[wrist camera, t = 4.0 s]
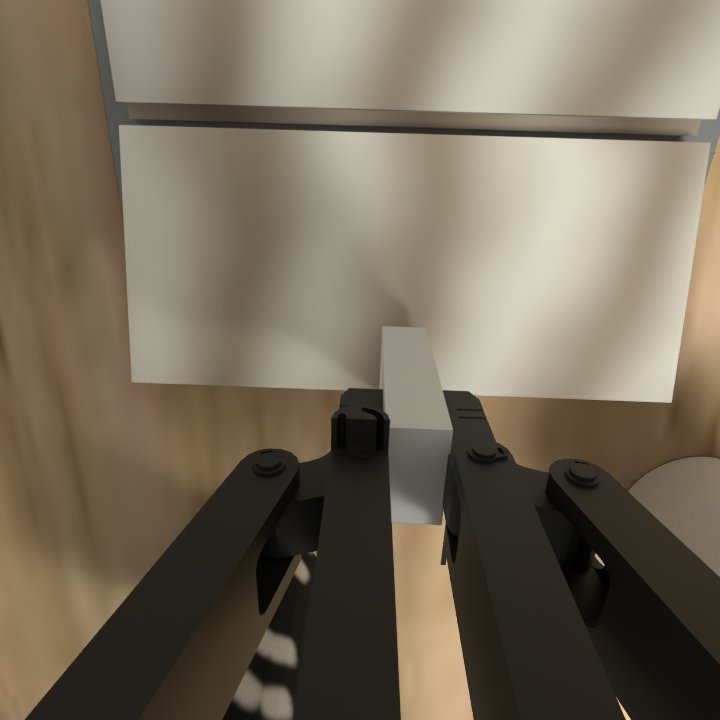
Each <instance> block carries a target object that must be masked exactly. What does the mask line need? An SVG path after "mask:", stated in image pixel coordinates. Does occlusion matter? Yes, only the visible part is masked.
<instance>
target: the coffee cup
mask: <svg viewBox="0 0 720 720" xmlns="http://www.w3.org/2000/svg"><path fill="white" fill-rule="evenodd" d="M628 492H629V493H630V494H631V495H632V496H633V497H634V498H635V499H636V500H638V501H639V502H640V503H641V504H642V505H643V506H644V507H645V508H646V509H647V510H648V511H649V512H650V513H651V514H653V515H654V516H655V517H656V518H657V519H658V520H659V521H660V522H661V523H662V524H663V525H664V526H665V527H667V528H668V529H669V530H670V531H671V532H672V533H673V534H674V535H675V536H676V537H677V538H678V539H679V540H680V541H682V542H683V543H684V544H685V545H686V546H687V547H688V548H689V549H690V550H691V551H692V552H693V553H694V554H696V555H697V556H698V557H699V558H700V559H701V560H702V561H703V562H704V563H705V564H706V565H707V566H708V567H710V568H711V569H712V570H713V571H714V572H715V573H716V574H717V575H718V576H719V577H720V459H719V458H713V457H689V458H683V459H678V460H675V461H672V462H669V463H666V464H664V465H661V466H659V467H657V468H655V469H653V470H652V471H650V472H648V473H647V474H646V475H644V476H643V477H642V478H640V479H639V480H638V481H637V482H636V483H635V484H634V485H633V486H632V487H631V488H630V489H629V491H628Z"/></svg>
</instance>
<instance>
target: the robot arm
mask: <svg viewBox="0 0 720 720" xmlns="http://www.w3.org/2000/svg"><path fill="white" fill-rule="evenodd" d="M443 509H444V514H445V520H446V526H445V534H444V542H443V550H442V558H441V565H446V558H447V562H448V568H449V574H450V580H451V586H452V592H453V598H454V604H455V610H456V616H457V622H458V628H459V634H460V640H461V646H462V652H463V658H464V664H465V670H466V676H467V682H468V688H469V694H470V700H471V706H472V712H473V718H474V720H626V719H625V717H624V715H623V712H622V710H621V708H620V705H619V703H618V701H617V699H618V700H619V702H620V703H621V705H622V706H623V708H624V709H625V711H626V712H627V714H628V715H629V717H630V718H631V720H720V577H719V576H718V575H717V574H716V573H715V572H714V571H713V570H712V569H711V568H710V567H708V566H707V565H706V564H705V563H704V562H703V561H702V560H701V559H700V558H699V557H698V556H697V555H696V554H694V553H693V552H692V551H691V550H690V549H689V548H688V547H687V546H686V545H685V544H684V543H683V542H682V541H680V540H679V539H678V538H677V537H676V536H675V535H674V534H673V533H672V532H671V531H670V530H669V529H668V528H667V527H665V526H664V525H663V524H662V523H661V522H660V521H659V520H658V519H657V518H656V517H655V516H654V515H653V514H651V513H650V512H649V511H648V510H647V509H646V508H645V507H644V506H643V505H642V504H641V503H640V502H639V501H638V500H636V499H635V498H634V497H633V496H632V495H631V494H630V493H629V492H628V491H627V490H626V489H625V488H624V487H622V486H621V485H620V484H619V483H618V482H617V481H616V480H615V479H614V478H613V477H612V476H611V475H610V474H609V473H607V472H606V471H604V470H603V469H601V468H600V467H598V466H596V465H594V464H591V463H589V462H587V461H583V460H578V459H562V460H558V461H555V462H554V463H553V464H552V465H551V466H550V470H549V473H546V472H542V471H537V470H533V469H529V468H526V467H523V466H520V465H518V464H516V463H515V460H514V458H513V456H512V454H511V453H510V452H509V450H508V449H507V448H505V447H504V446H502V445H500V444H499V443H496V441H495V438H494V436H493V433H492V431H491V428H490V426H489V423H488V421H487V420H486V416H485V413H484V411H483V408H482V406H481V403H480V401H479V399H478V398H476V397H475V396H474V395H473V394H472V393H470V392H469V391H452V390H442V387H441V383H440V379H439V375H438V372H437V368H436V364H435V360H434V357H433V353H432V349H431V345H430V342H429V338H428V334H427V330H426V328H421V327H393V326H382V343H381V363H380V383H379V389H365V388H349V389H348V390H347V391H346V392H345V393H343V394H342V395H341V400H340V407H339V410H337V411H336V412H334V414H333V416H332V418H331V451H330V452H329V453H328V454H326V455H325V456H323V457H321V458H319V459H316V460H312V461H308V462H303V463H299V462H298V459H297V457H296V456H294V455H293V454H292V453H291V452H288V451H285V450H282V449H264V450H258V451H256V452H254V453H251V454H249V455H248V456H246V457H245V458H244V459H243V460H241V462H240V463H239V464H238V465H237V466H236V468H235V469H234V470H233V471H232V472H231V474H230V475H229V476H228V477H227V478H226V480H225V481H224V482H223V483H222V484H221V486H220V487H219V488H218V489H217V490H216V491H215V493H214V494H213V495H212V496H211V497H210V499H209V500H208V501H207V502H206V503H205V505H204V506H203V507H202V508H201V509H200V511H199V512H198V513H197V514H196V515H195V517H194V518H193V519H192V520H191V521H190V523H189V524H188V525H187V526H186V527H185V529H184V530H183V531H182V532H181V533H180V535H179V536H178V537H177V538H176V539H175V541H174V542H173V543H172V544H171V545H170V547H169V548H168V549H167V550H166V551H165V552H164V554H163V555H162V556H161V557H160V558H159V560H158V561H157V562H156V563H155V564H154V566H153V567H152V568H151V569H150V570H149V572H148V573H147V574H146V575H145V576H144V578H143V579H142V580H141V581H140V582H139V584H138V585H137V586H136V587H135V588H134V590H133V591H132V592H131V593H130V594H129V596H128V597H127V598H126V599H125V600H124V602H123V603H122V604H121V605H120V606H119V608H118V609H117V610H116V611H115V612H114V613H113V615H112V616H111V617H110V618H109V619H108V621H107V622H106V623H105V624H104V625H103V627H102V628H101V629H100V630H99V631H98V633H97V634H96V635H95V636H94V637H93V639H92V640H91V641H90V642H89V643H88V645H87V646H86V647H85V648H84V649H83V651H82V652H81V653H80V654H79V655H78V657H77V658H76V659H75V660H74V661H73V663H72V664H71V665H70V666H69V667H68V669H67V670H66V671H65V672H64V673H63V674H62V676H61V677H60V678H59V679H58V680H57V682H56V683H55V684H54V685H53V686H52V688H51V689H50V690H49V691H48V692H47V694H46V695H45V696H44V697H43V698H42V700H41V701H40V702H39V703H38V704H37V706H36V707H35V708H34V709H33V710H32V712H31V713H30V714H29V715H28V716H27V718H26V719H25V720H222V719H223V717H224V715H225V713H226V711H227V709H228V707H229V705H230V703H231V701H232V699H233V697H234V695H235V693H236V691H237V689H238V687H239V685H240V683H241V681H242V679H243V677H244V675H245V673H246V671H247V669H248V667H249V665H250V662H251V660H252V658H253V656H254V654H255V652H256V650H257V648H258V646H259V644H260V642H261V640H262V638H263V636H264V634H265V632H266V630H267V628H268V626H269V624H270V622H271V620H272V618H273V616H274V614H275V612H276V610H277V608H278V606H279V604H280V602H281V600H282V598H283V596H284V594H285V592H286V589H287V587H288V585H289V583H290V581H291V579H292V577H293V575H294V573H295V571H296V569H297V567H298V565H299V563H300V560H301V555H302V554H305V553H309V552H314V551H317V556H316V564H315V571H314V578H313V586H312V593H311V600H310V607H309V615H308V622H307V629H306V636H305V644H304V651H303V658H302V665H301V673H300V680H299V687H298V694H297V702H296V709H295V716H294V720H401V714H400V692H399V671H398V649H397V627H396V606H395V584H394V563H393V541H392V523H407V524H431V525H442V517H443ZM595 553H596V554H597V555H598V556H599V557H600V559H601V560H602V561H603V563H604V565H605V566H603V565H602V564H601V563H600V562H599V561H598V560H597V559H596V557H595ZM616 697H617V698H616Z"/></svg>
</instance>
